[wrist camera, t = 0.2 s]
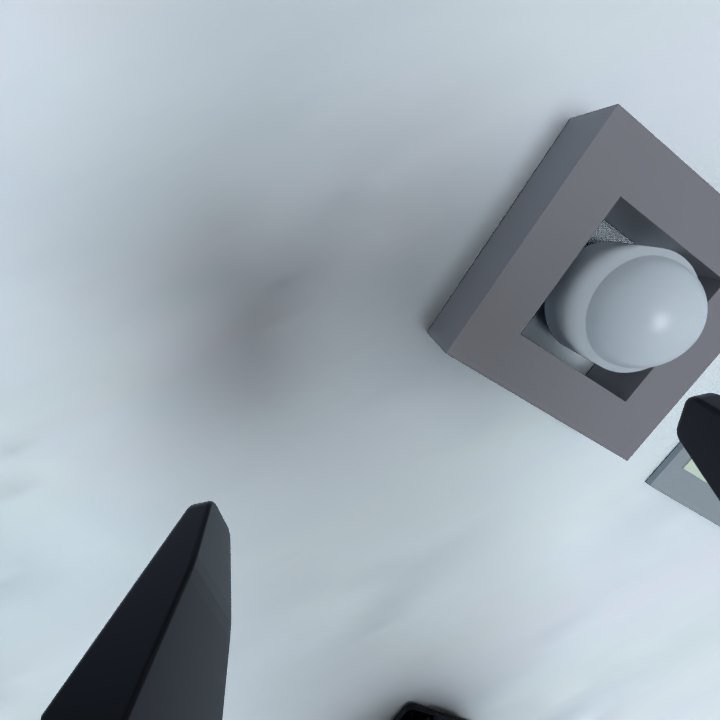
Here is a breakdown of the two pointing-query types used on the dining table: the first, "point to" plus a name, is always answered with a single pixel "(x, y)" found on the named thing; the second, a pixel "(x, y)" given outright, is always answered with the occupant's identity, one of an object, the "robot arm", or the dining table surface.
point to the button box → (557, 252)
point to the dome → (627, 306)
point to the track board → (686, 484)
